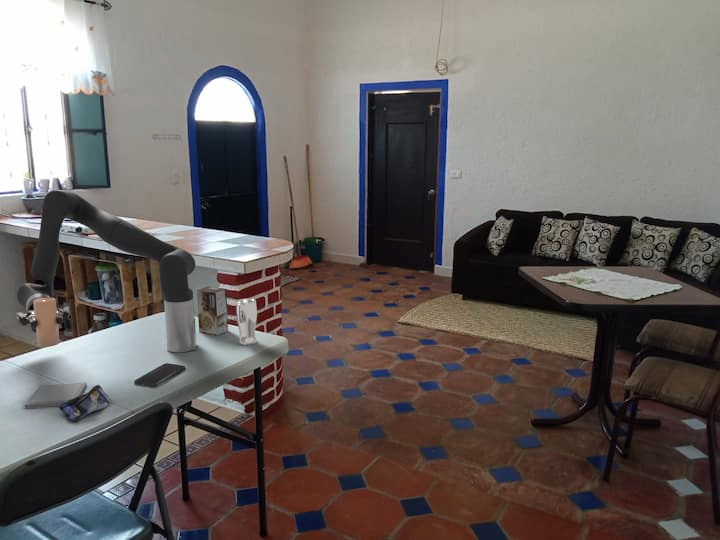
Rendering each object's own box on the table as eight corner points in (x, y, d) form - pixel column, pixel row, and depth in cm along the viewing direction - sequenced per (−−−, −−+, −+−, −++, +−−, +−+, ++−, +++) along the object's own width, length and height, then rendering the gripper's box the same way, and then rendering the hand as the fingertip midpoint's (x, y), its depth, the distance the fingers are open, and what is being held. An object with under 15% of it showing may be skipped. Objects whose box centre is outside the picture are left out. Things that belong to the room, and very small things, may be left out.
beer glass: (259, 339, 197) (259, 298, 193) (254, 346, 190) (253, 304, 187) (240, 338, 197) (239, 297, 194) (234, 345, 190) (233, 303, 187)
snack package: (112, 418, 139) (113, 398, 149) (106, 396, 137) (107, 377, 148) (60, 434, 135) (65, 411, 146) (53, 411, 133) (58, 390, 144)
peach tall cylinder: (60, 339, 162) (57, 297, 159) (57, 346, 157) (53, 302, 154) (39, 341, 160) (35, 298, 157) (35, 347, 155) (31, 303, 152)
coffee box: (229, 330, 205) (227, 288, 202) (217, 335, 199) (216, 292, 196) (209, 327, 209) (207, 285, 205) (198, 331, 203) (196, 289, 200)
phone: (187, 366, 170) (155, 385, 156) (187, 369, 170) (155, 389, 156) (165, 362, 172) (132, 381, 158) (165, 366, 172) (132, 385, 158)
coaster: (86, 385, 156) (86, 381, 156) (75, 404, 145) (74, 400, 145) (40, 389, 154) (39, 385, 154) (24, 408, 142) (24, 404, 142)
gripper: (12, 298, 164) (16, 313, 150) (66, 293, 172) (74, 306, 158) (14, 322, 165) (18, 339, 152) (68, 316, 173) (76, 331, 160)
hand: (47, 322), depth 155 cm, fingers closed on peach tall cylinder, 5 cm apart
